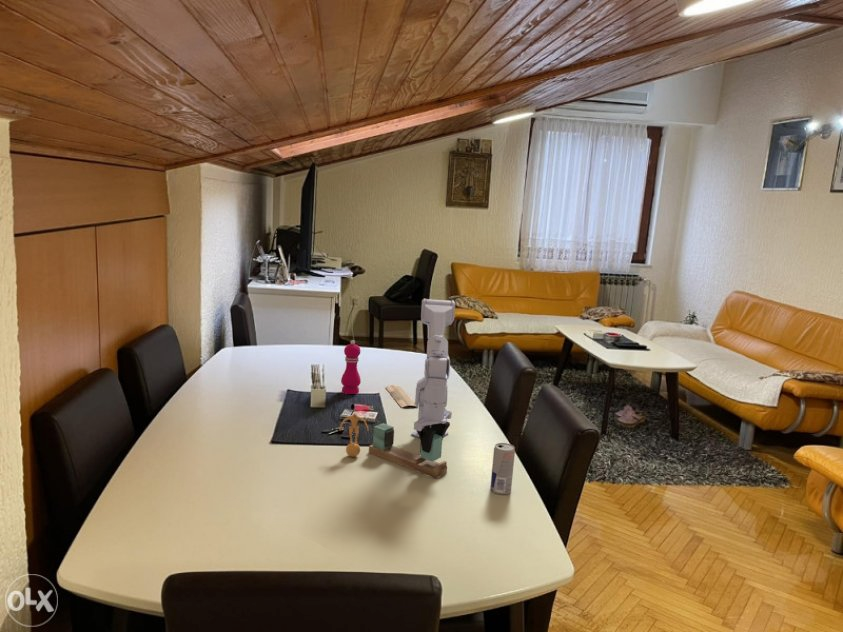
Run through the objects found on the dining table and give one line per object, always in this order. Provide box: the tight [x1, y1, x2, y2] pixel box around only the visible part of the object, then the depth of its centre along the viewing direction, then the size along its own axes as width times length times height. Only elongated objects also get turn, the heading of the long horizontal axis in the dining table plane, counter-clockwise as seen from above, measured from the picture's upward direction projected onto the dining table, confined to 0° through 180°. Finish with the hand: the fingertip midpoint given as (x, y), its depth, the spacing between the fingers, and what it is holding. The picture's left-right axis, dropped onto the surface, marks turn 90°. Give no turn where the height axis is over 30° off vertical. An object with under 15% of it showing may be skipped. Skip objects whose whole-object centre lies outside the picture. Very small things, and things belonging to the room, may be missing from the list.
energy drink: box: [490, 442, 516, 496], centre depth 162 cm, size 5×5×12 cm
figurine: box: [338, 413, 369, 458], centre depth 178 cm, size 8×6×12 cm
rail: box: [368, 423, 448, 479], centre depth 176 cm, size 5×24×8 cm, turn 53°
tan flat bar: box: [385, 384, 419, 409], centre depth 233 cm, size 24×7×2 cm, turn 17°
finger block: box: [419, 434, 443, 462], centre depth 171 cm, size 4×5×6 cm
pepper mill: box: [340, 339, 362, 395], centre depth 233 cm, size 7×7×20 cm
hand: (431, 449), depth 171 cm, fingers closed on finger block, 4 cm apart
